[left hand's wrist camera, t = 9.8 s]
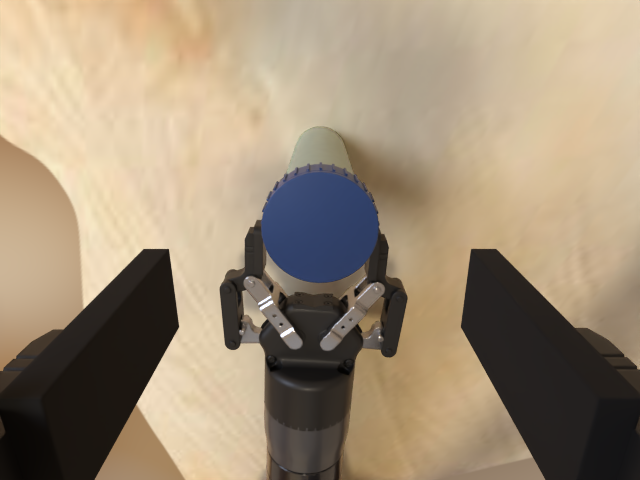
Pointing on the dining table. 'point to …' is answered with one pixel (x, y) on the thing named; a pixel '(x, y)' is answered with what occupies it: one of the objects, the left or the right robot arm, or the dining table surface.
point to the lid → (320, 223)
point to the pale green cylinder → (320, 150)
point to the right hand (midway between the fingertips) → (317, 226)
